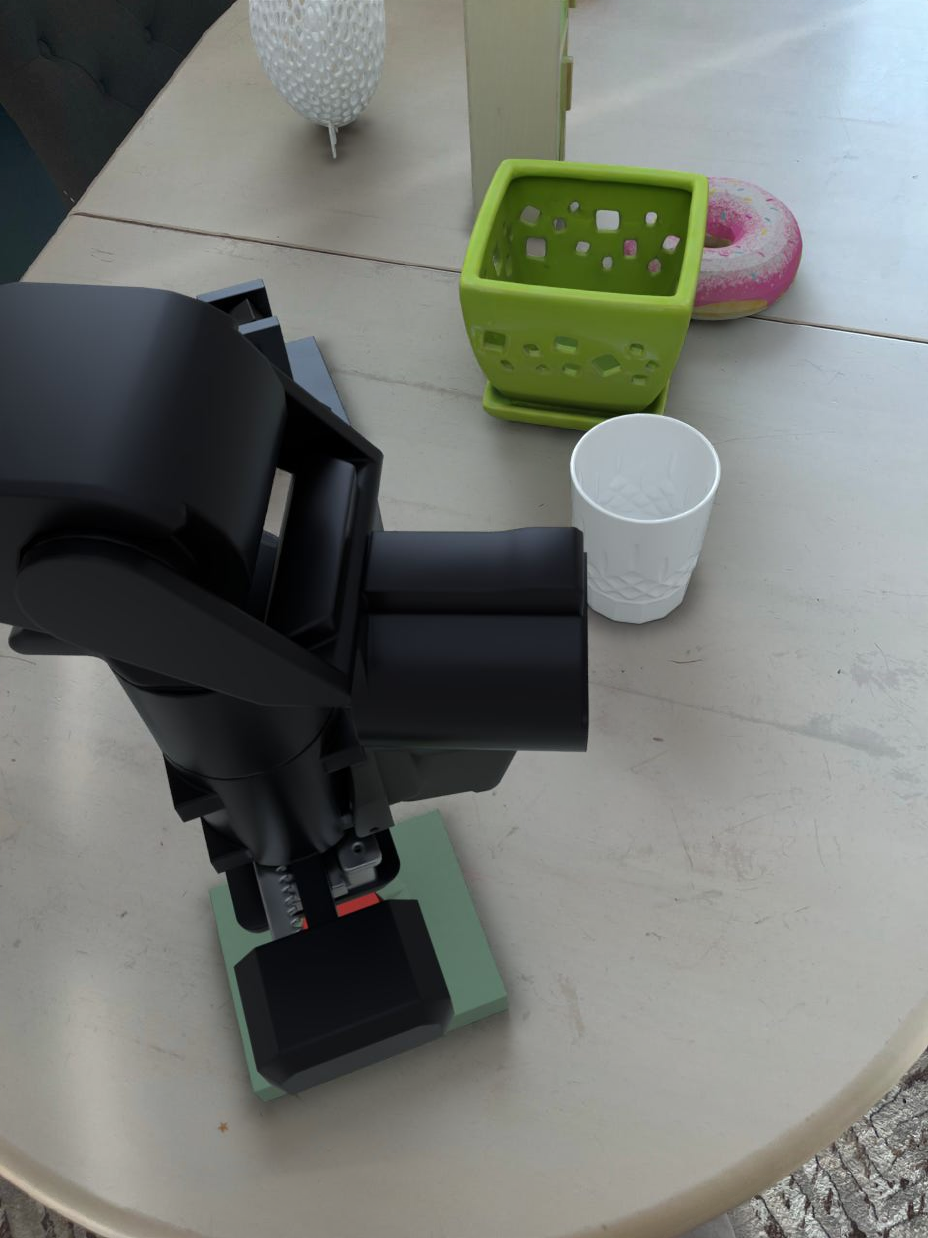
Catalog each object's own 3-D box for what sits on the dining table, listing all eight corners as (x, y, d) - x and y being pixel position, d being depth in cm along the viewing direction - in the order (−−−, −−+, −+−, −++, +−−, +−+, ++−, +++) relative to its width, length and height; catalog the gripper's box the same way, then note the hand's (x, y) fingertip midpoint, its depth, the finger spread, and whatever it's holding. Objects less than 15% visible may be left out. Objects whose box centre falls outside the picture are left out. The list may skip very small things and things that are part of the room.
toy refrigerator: (565, 236, 84) (571, -53, 67) (473, 232, 85) (456, -54, 68) (574, 178, 88) (583, -108, 71) (487, 174, 89) (474, -108, 72)
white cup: (633, 656, 61) (648, 548, 53) (539, 577, 65) (539, 464, 57) (725, 580, 64) (752, 466, 56) (629, 509, 67) (641, 392, 59)
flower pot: (670, 467, 69) (693, 310, 59) (462, 442, 72) (449, 286, 61) (692, 326, 77) (716, 165, 66) (504, 307, 79) (498, 149, 69)
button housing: (263, 1103, 49) (244, 1084, 45) (218, 904, 54) (198, 874, 51) (508, 1009, 50) (506, 984, 47) (441, 825, 56) (434, 792, 53)
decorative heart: (290, 75, 100) (249, -134, 86) (402, 70, 100) (379, -141, 86) (264, 187, 90) (214, -29, 76) (389, 182, 89) (361, -37, 75)
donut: (631, 344, 76) (637, 287, 72) (600, 232, 84) (603, 174, 80) (817, 324, 76) (833, 266, 72) (769, 214, 84) (781, 155, 80)
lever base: (211, 480, 71) (174, 381, 64) (183, 385, 77) (146, 283, 69) (354, 438, 72) (333, 337, 65) (316, 347, 78) (293, 245, 71)
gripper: (619, 881, 28) (595, 1031, 41) (404, 415, 38) (438, 651, 51) (204, 1036, 26) (315, 1142, 39) (97, 505, 37) (212, 726, 49)
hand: (329, 884), depth 45 cm, fingers closed
